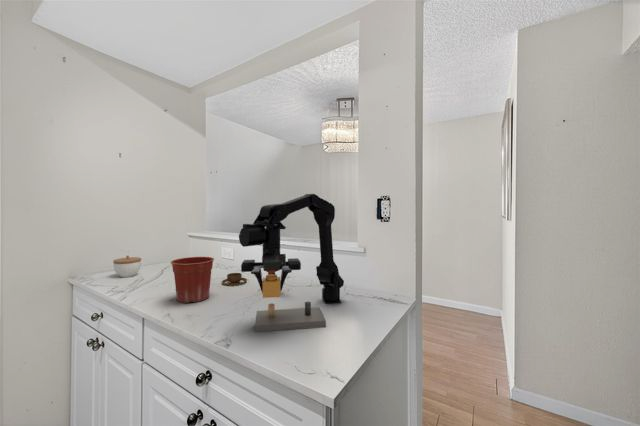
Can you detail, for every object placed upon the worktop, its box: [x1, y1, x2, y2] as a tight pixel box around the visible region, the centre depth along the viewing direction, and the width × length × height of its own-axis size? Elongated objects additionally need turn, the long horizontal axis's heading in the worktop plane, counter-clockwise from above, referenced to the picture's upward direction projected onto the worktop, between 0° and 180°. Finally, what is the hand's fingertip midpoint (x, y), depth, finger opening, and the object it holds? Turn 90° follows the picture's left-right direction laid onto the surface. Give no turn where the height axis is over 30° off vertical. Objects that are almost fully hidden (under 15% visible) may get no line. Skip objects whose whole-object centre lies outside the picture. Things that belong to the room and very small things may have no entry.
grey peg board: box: [254, 301, 327, 333], centre depth 92 cm, size 22×12×6 cm, turn 100°
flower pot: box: [170, 256, 215, 304], centre depth 115 cm, size 16×16×16 cm
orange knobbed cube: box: [262, 274, 281, 299], centre depth 91 cm, size 6×6×6 cm
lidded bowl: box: [112, 255, 142, 278], centre depth 153 cm, size 13×13×11 cm
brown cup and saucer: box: [221, 272, 249, 287], centre depth 141 cm, size 18×20×6 cm
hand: (271, 291), depth 91 cm, fingers closed on orange knobbed cube, 6 cm apart
